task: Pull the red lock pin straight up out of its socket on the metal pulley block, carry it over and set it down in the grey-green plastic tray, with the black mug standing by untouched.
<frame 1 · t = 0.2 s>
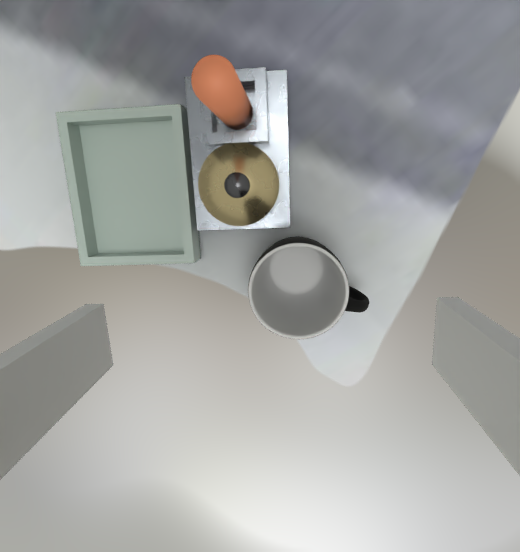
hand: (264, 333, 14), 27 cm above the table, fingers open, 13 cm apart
lock pin: (237, 112, 35), point 2 cm above the table, touching pulley block
pulley block: (242, 157, 39), on the table
tray: (139, 190, 41), on the table
mug: (308, 271, 41), on the table
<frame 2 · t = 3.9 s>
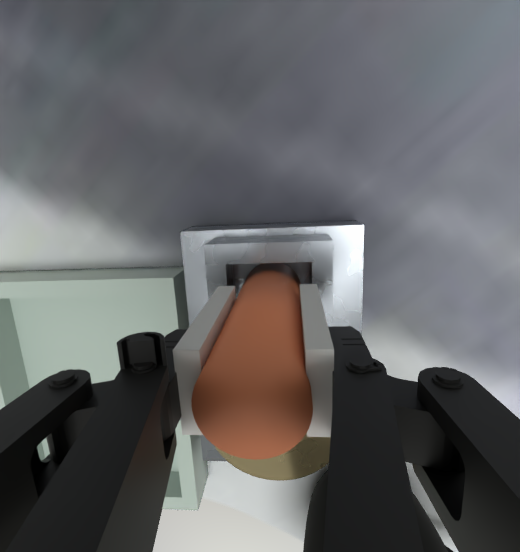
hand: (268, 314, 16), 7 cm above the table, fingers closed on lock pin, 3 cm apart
lock pin: (272, 289, 20), point 3 cm above the table, touching gripper
pulley block: (276, 337, 24), on the table
tray: (109, 378, 25), on the table
mug: (378, 499, 26), on the table
when the fingers open (5 cm above the table, at t = 9.2 s): lock pin stays where it is, resting on tray.
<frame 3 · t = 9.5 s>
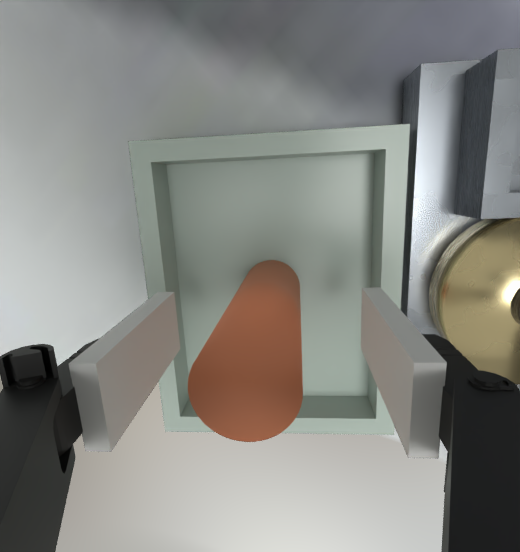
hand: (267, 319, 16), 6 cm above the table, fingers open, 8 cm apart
lock pin: (271, 287, 21), point 1 cm above the table, touching tray
pulley block: (491, 225, 19), on the table
tray: (273, 283, 21), on the table
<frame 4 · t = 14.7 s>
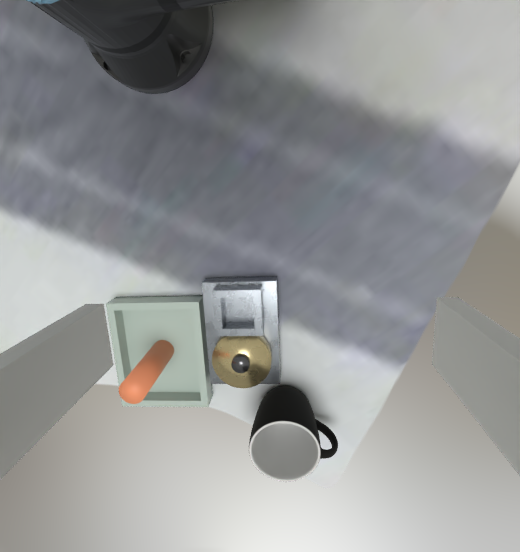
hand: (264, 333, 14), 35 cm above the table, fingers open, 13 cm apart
lock pin: (163, 349, 53), point 1 cm above the table, touching tray
pulley block: (244, 327, 52), on the table
tray: (165, 347, 53), on the table
mug: (295, 406, 54), on the table
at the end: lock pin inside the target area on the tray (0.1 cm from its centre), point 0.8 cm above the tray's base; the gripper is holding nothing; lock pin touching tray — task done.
